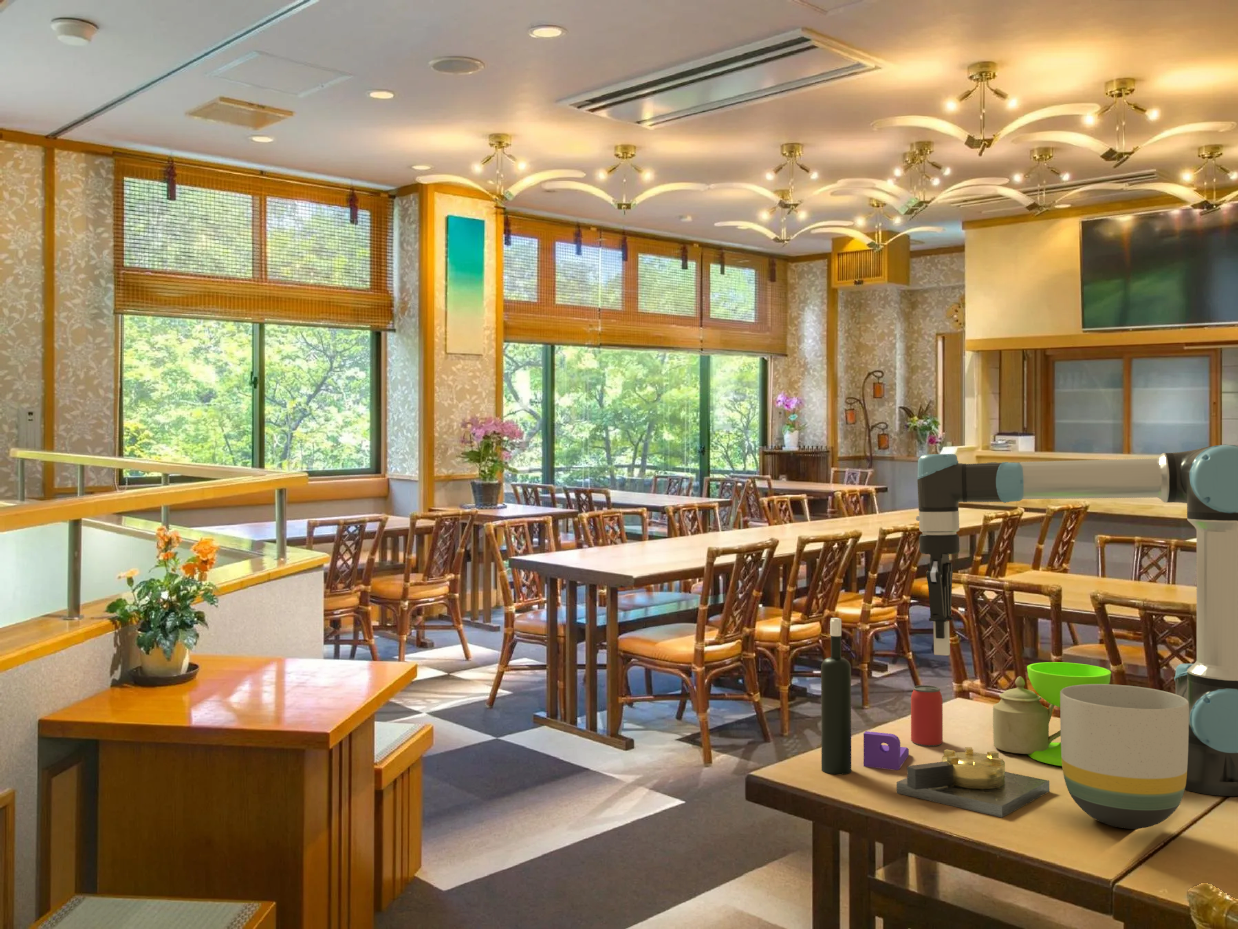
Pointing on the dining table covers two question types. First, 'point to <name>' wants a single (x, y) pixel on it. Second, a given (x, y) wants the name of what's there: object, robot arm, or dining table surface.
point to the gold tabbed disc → (959, 771)
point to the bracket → (883, 751)
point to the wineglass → (1052, 681)
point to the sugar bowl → (1021, 721)
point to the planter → (1124, 752)
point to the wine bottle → (836, 707)
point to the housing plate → (984, 794)
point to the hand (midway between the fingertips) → (942, 654)
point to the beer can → (926, 716)
